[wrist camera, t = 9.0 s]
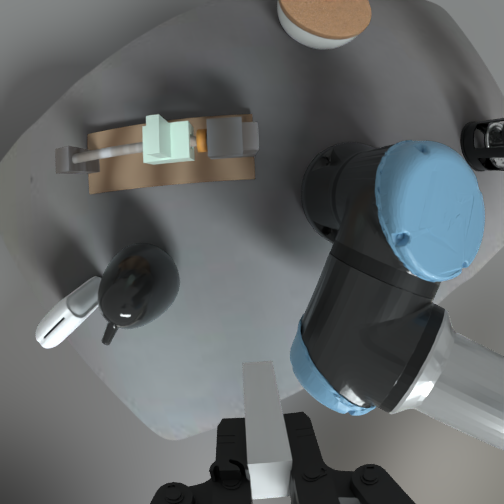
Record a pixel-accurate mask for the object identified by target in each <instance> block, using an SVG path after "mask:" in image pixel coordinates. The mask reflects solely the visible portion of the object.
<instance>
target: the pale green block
mask: <svg viewBox="0 0 504 504" xmlns="http://www.w3.org/2000/svg"><path fill="white" fill-rule="evenodd" d="M142 133H143V163H147V164H152V165H155V164H164V163H174V162H185V161H195V155H194V147H191V145H190V136H194V128H193V126H192V125H191V124H190V122H189V121H180V122H171V123H168V122H167V121H166V120H165V119H164V118H163V117H161V116H160V115H159V114H157V115H150V116H146V126H142Z"/></svg>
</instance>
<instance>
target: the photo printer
mask: <svg viewBox="0 0 504 504" xmlns="http://www.w3.org/2000/svg"><path fill="white" fill-rule="evenodd" d="M101 279H102V278H100V277H97V276H94V277H92V278H91V279H89V280H88V281H86V282H85V283H84V284H82V285H81V286H80V287H78V288H77V289H76V290H74V291H73V292H72V293H70V294H69V295H68V296H66V297H65V298H63V299H62V300H61V301H60V302H59V303H57V304H56V305H55V306H54V307H53V308H52V309H51V310H50V311H49V312H48V313H47V314H46V315H45V316H44V318H43V319H42V320H41V322H40V323H39V325H38V327H37V329H36V340H37V341H38V342H39V343H40V344H41V346H42V347H44V348H52V347H55V346H57V345H58V344H59V343H61V342H62V341H63V340H64V339H65V338H66V337H67V336H68V335H70V334H71V333H72V332H73V331H74V330H75V329H76V328H77V327H78V326H79V325H80V324H81V323H82V322H83V321H84V320H85V319H86V318H87V317H88V316H89V315H90V314H91V313H92V312H93V311H94V310H95V309H96V308H97V307H98V288H99V284H100V281H101Z"/></svg>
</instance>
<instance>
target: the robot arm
mask: <svg viewBox="0 0 504 504" xmlns="http://www.w3.org/2000/svg"><path fill="white" fill-rule="evenodd" d="M301 197H302V205H303V209H304V212H305V215H306V217H307V219H308V221H309V223H310V224H311V226H312V227H313V228H314V229H315V230H316V232H317V233H319V234H320V235H321V236H322V237H324V238H325V239H327V240H328V241H330V242H332V243H334V244H333V246H332V249H331V251H330V253H329V255H328V258H327V261H326V263H325V266H324V268H323V271H322V273H321V276H320V278H319V281H318V283H317V286H316V288H315V291H314V293H313V295H312V298H311V300H310V302H309V305H308V307H307V309H306V311H305V313H304V314H303V315H302V317H301V319H300V321H299V324H298V331H297V334H296V336H295V339H294V341H293V344H292V347H291V351H290V361H291V364H292V366H293V371H294V374H295V376H296V377H297V379H298V381H299V382H300V384H301V385H302V386H303V387H304V388H305V390H306V391H307V392H308V393H309V394H310V395H311V396H313V397H314V398H315V399H316V400H318V401H319V402H320V403H322V404H323V405H325V406H326V407H328V408H330V409H332V410H334V411H337V412H339V413H343V414H344V413H347V412H349V413H350V414H351V415H363V414H366V413H368V412H369V411H371V410H373V409H375V407H378V408H380V409H382V410H384V411H386V412H388V413H390V414H394V413H397V412H400V411H403V410H406V409H416V410H418V411H420V412H422V413H424V414H426V415H428V416H430V417H432V418H434V419H436V420H438V421H440V422H442V423H444V424H446V425H448V426H450V427H452V428H455V429H457V430H459V431H461V432H463V433H465V434H467V435H470V436H472V437H474V438H476V439H478V440H481V441H483V442H485V443H488V444H490V445H492V446H494V447H497V448H499V449H502V450H504V356H502V355H501V354H498V353H497V352H495V351H493V350H491V349H489V348H487V347H485V346H483V345H481V344H479V343H477V342H475V341H473V340H471V339H469V338H467V337H465V336H463V335H461V334H459V333H457V332H456V331H455V330H454V329H453V327H452V324H451V320H450V317H449V314H448V311H447V310H445V309H444V308H442V307H440V306H438V305H436V304H434V303H433V299H434V297H435V295H436V292H437V290H438V288H439V285H440V283H441V281H446V280H449V279H452V278H454V277H457V276H458V275H459V274H461V271H462V268H467V267H468V266H469V265H470V264H471V263H472V261H473V260H474V258H475V256H476V254H477V252H478V250H479V247H480V244H481V241H482V237H483V232H484V224H485V210H484V202H483V196H482V193H481V192H480V191H479V187H478V182H477V178H476V176H475V174H474V173H473V171H472V169H471V168H470V166H469V165H468V163H467V162H466V161H465V160H464V159H463V158H462V157H461V156H460V155H459V154H458V153H457V152H456V151H454V150H453V149H452V148H450V147H448V146H446V145H444V144H442V143H438V142H434V141H412V140H406V141H401V142H399V143H397V144H394V145H389V146H385V147H381V148H376V149H375V148H373V147H371V146H369V145H366V144H362V143H356V142H347V143H341V144H338V145H335V146H332V147H330V148H328V149H326V150H324V151H323V152H321V153H320V154H319V155H318V156H316V158H315V159H314V160H313V161H312V162H311V164H310V165H309V167H308V169H307V171H306V173H305V175H304V179H303V183H302V190H301ZM243 385H244V406H245V418H227V419H222V420H221V422H220V424H219V425H218V427H217V447H216V461H215V462H214V463H213V464H212V465H211V467H210V470H209V472H210V475H211V479H210V480H208V481H206V482H205V483H202V484H198V485H194V486H189V487H188V486H186V485H184V484H182V483H176V482H172V483H167V484H165V485H163V486H161V487H160V488H159V489H158V490H157V492H156V494H155V496H154V497H153V499H152V501H151V503H150V504H253V502H252V499H263V498H274V497H283V496H289V495H290V496H291V504H415V503H414V501H413V500H411V498H410V497H409V496H408V495H407V494H406V493H405V492H404V491H403V490H402V489H401V487H400V486H399V485H398V484H397V483H396V482H395V481H394V480H393V478H392V477H391V476H390V475H389V474H388V473H387V472H386V471H385V470H384V469H383V468H382V467H380V466H378V465H375V464H366V465H363V466H360V467H359V468H357V469H356V470H355V471H354V472H353V471H338V470H334V469H331V468H330V467H328V466H327V465H326V464H325V463H324V461H323V459H322V456H321V453H320V449H319V446H318V443H317V440H316V436H315V433H314V430H313V426H312V423H311V420H310V418H309V417H308V416H307V415H306V414H305V413H304V412H298V413H289V414H283V412H282V407H281V402H280V397H279V392H278V387H277V382H276V377H275V372H274V368H273V363H272V361H264V362H249V363H243Z"/></svg>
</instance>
